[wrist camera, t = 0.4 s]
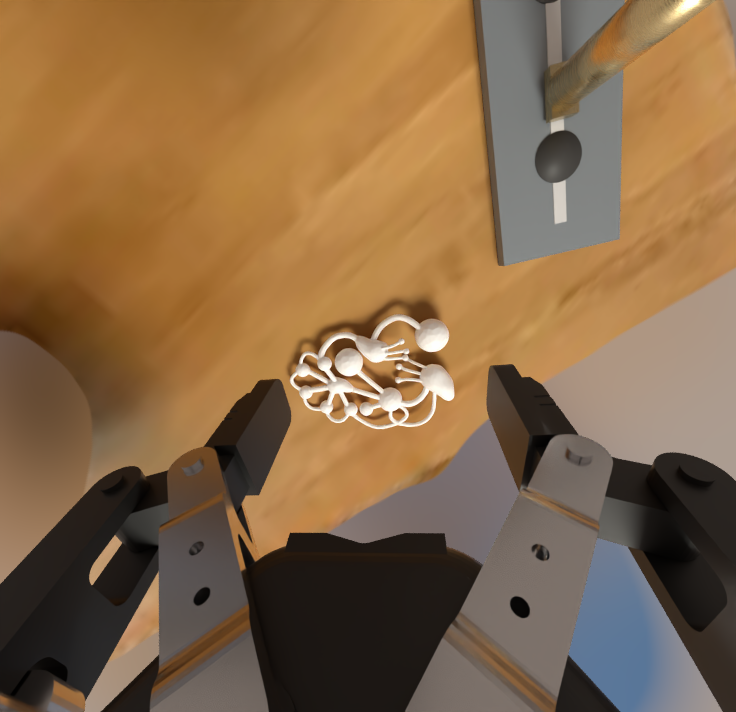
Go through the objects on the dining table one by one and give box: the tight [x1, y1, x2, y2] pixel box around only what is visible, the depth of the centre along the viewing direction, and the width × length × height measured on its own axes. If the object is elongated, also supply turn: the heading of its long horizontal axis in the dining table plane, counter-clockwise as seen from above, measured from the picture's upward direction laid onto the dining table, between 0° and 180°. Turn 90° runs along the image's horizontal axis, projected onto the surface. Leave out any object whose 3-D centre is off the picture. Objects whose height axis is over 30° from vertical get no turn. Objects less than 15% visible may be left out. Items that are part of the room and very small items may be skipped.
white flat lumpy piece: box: [290, 314, 454, 429], centre depth 37 cm, size 19×14×4 cm
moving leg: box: [544, 0, 715, 124], centre depth 21 cm, size 4×3×14 cm
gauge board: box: [473, 0, 625, 266], centre depth 29 cm, size 28×12×2 cm, turn 13°
